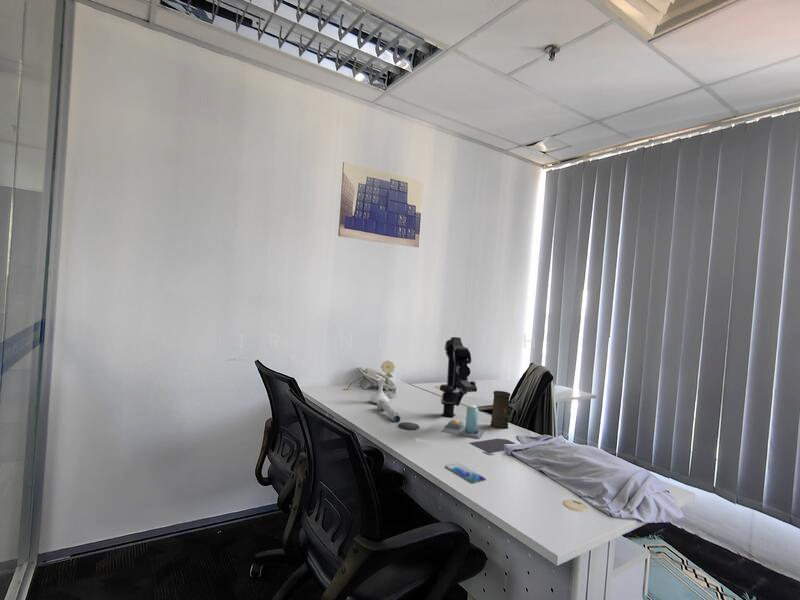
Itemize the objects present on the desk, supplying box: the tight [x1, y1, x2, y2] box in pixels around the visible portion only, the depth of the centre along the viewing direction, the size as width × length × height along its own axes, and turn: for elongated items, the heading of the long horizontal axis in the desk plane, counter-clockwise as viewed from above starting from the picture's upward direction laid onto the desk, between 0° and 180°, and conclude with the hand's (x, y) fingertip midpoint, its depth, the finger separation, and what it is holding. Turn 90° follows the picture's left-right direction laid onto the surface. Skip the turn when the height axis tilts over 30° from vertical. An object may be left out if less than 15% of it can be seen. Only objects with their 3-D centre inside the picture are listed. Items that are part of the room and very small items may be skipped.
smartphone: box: [444, 463, 487, 484], centre depth 151 cm, size 7×1×15 cm
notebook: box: [468, 438, 516, 456], centre depth 181 cm, size 13×2×21 cm
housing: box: [440, 419, 486, 440], centre depth 198 cm, size 16×18×3 cm
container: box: [489, 390, 511, 430], centre depth 210 cm, size 9×9×18 cm
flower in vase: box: [369, 359, 396, 404], centre depth 241 cm, size 13×11×25 cm
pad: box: [398, 421, 420, 431], centre depth 200 cm, size 10×10×1 cm
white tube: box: [376, 399, 401, 423], centre depth 217 cm, size 5×7×25 cm
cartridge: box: [465, 404, 479, 435], centre depth 194 cm, size 5×5×13 cm
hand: (457, 405), depth 204 cm, fingers closed
